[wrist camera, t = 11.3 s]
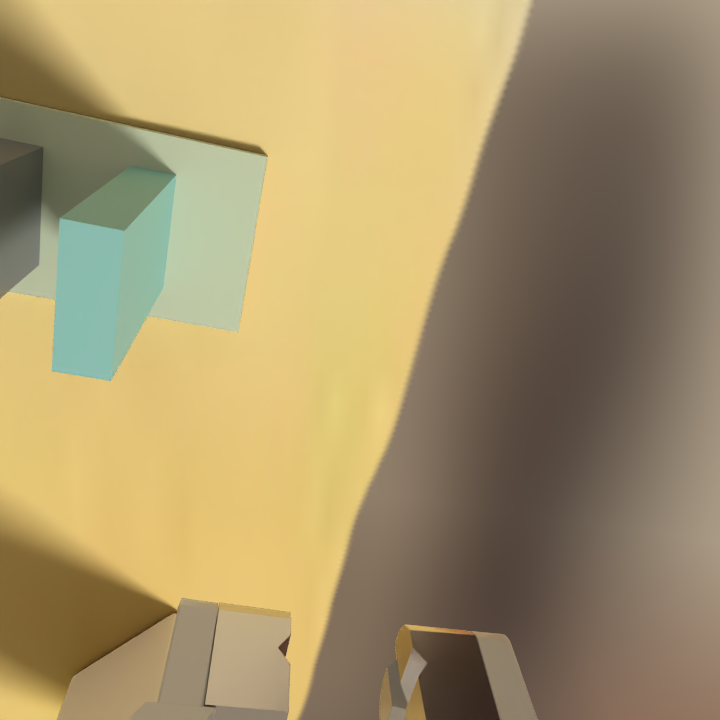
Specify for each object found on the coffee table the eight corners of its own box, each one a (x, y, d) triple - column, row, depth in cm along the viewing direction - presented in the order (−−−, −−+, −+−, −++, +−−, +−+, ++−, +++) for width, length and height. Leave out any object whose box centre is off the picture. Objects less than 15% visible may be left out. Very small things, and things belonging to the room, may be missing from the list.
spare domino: (120, 280, 26) (52, 371, 19) (131, 165, 25) (59, 218, 17) (163, 288, 27) (110, 380, 19) (176, 174, 25) (124, 231, 18)
